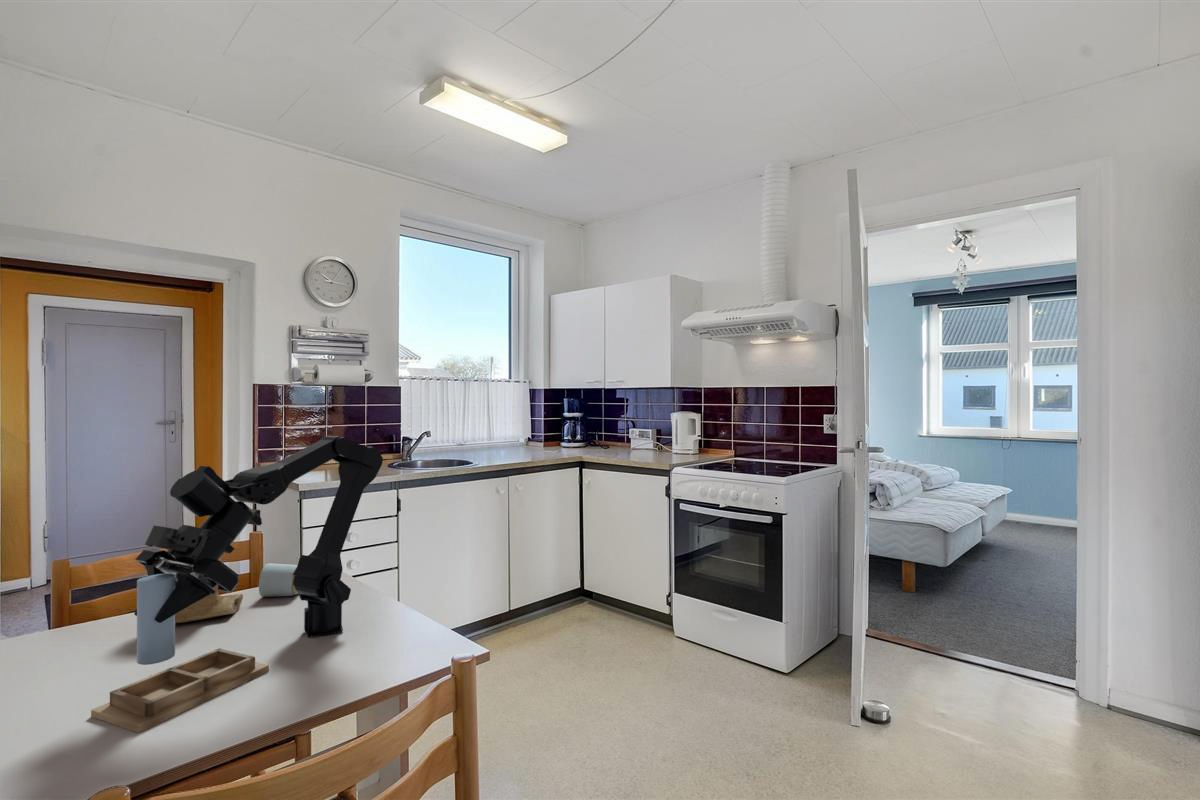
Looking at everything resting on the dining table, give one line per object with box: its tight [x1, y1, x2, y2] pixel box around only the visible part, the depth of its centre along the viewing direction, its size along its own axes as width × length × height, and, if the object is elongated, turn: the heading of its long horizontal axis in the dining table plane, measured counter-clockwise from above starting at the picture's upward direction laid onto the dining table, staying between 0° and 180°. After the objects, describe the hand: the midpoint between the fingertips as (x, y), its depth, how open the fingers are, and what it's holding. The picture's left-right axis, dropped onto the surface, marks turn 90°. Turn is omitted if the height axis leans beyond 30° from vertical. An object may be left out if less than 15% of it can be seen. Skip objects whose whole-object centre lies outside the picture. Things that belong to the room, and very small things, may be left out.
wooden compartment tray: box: [90, 648, 270, 733], centre depth 97 cm, size 21×11×3 cm, turn 158°
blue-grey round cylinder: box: [136, 574, 176, 666], centre depth 94 cm, size 5×5×12 cm
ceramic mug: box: [258, 562, 299, 598], centre depth 146 cm, size 11×8×8 cm
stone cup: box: [171, 555, 244, 624], centre depth 129 cm, size 15×12×15 cm
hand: (146, 618), depth 92 cm, fingers closed on blue-grey round cylinder, 5 cm apart
